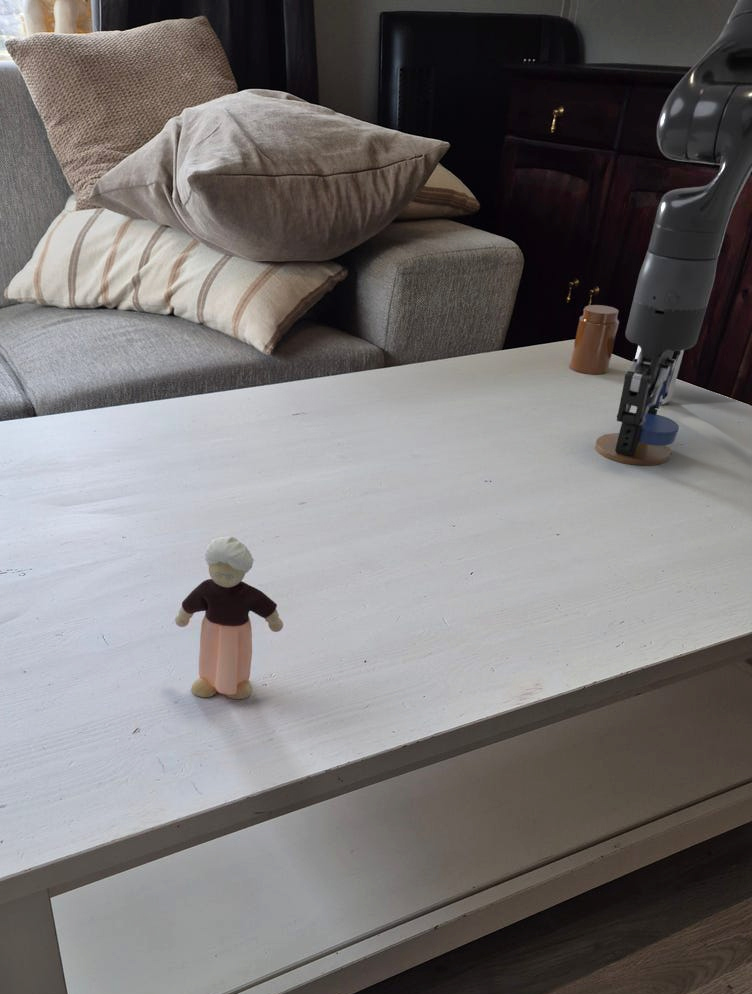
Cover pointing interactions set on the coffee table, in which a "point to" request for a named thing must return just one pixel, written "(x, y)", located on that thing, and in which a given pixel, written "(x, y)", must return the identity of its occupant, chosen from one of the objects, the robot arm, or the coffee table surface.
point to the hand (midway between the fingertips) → (632, 445)
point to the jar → (595, 339)
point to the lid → (658, 430)
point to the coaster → (642, 456)
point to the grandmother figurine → (226, 620)
